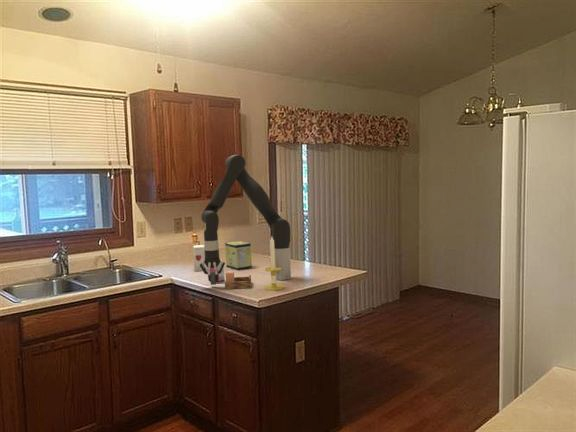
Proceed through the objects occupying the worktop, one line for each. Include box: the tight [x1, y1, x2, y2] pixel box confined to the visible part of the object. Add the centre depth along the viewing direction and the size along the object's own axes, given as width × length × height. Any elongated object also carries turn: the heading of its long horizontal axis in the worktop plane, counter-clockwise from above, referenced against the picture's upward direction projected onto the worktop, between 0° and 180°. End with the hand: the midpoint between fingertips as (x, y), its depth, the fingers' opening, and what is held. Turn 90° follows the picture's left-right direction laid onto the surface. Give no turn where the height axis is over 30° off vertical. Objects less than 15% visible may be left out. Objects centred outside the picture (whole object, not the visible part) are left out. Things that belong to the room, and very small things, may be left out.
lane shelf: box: [224, 274, 252, 290], centre depth 261 cm, size 13×12×4 cm
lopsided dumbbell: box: [210, 270, 235, 286], centre depth 260 cm, size 12×5×6 cm, turn 93°
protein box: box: [224, 241, 253, 271], centre depth 311 cm, size 10×16×16 cm
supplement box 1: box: [193, 244, 208, 272], centre depth 309 cm, size 9×9×15 cm
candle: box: [264, 236, 285, 291], centre depth 253 cm, size 10×10×27 cm
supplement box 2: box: [211, 259, 226, 283], centre depth 275 cm, size 6×6×12 cm
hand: (213, 281), depth 260 cm, fingers closed on lopsided dumbbell, 2 cm apart
